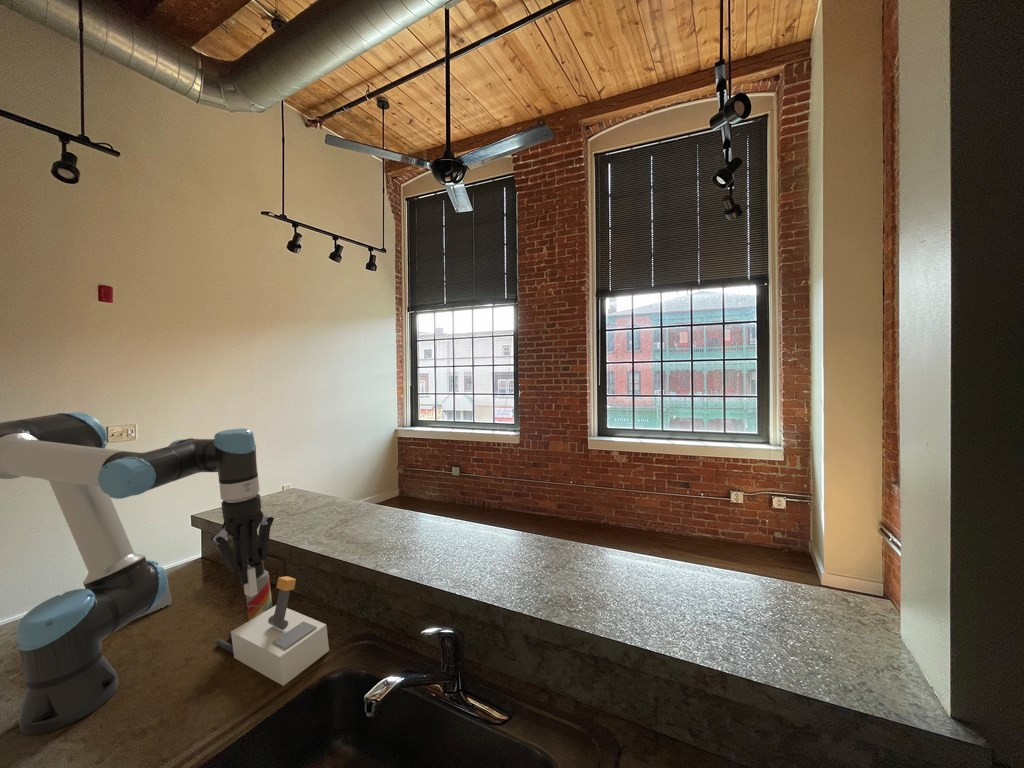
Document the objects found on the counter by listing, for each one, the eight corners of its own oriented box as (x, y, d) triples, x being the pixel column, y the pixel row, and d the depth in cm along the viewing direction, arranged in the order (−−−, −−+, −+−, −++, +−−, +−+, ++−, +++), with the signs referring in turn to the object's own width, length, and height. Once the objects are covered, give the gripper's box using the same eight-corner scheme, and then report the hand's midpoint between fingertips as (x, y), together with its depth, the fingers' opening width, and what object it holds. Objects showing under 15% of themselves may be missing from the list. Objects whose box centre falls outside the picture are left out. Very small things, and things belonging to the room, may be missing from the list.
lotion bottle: (255, 637, 112) (247, 565, 110) (246, 629, 115) (238, 560, 113) (278, 625, 116) (270, 556, 114) (268, 618, 120) (260, 551, 118)
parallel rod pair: (216, 646, 109) (215, 641, 109) (234, 635, 113) (233, 630, 113) (235, 657, 105) (234, 651, 105) (253, 645, 109) (252, 640, 109)
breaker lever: (266, 625, 104) (276, 576, 107) (275, 622, 106) (285, 575, 109) (278, 630, 102) (289, 581, 104) (287, 628, 104) (297, 579, 106)
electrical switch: (132, 621, 122) (127, 590, 122) (128, 616, 125) (124, 585, 125) (172, 604, 129) (168, 575, 129) (168, 600, 133) (163, 571, 132)
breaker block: (234, 657, 105) (230, 629, 104) (280, 628, 115) (277, 602, 114) (283, 685, 95) (279, 655, 94) (329, 650, 105) (326, 623, 105)
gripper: (218, 509, 89) (230, 614, 92) (278, 489, 100) (287, 583, 103) (200, 504, 93) (212, 605, 95) (259, 485, 104) (268, 576, 106)
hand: (251, 593), depth 99 cm, fingers closed
